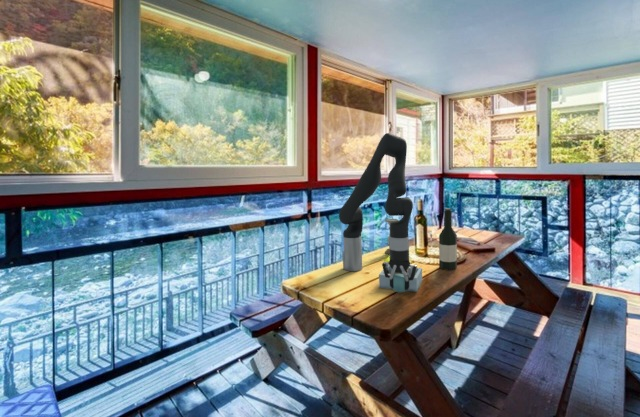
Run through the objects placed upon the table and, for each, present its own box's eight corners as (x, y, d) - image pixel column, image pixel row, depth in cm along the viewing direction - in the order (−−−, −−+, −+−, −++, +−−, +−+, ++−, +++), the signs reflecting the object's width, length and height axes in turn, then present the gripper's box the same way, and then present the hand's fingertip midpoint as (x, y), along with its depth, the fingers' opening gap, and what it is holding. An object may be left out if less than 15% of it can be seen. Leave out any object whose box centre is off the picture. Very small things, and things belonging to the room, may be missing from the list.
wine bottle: (458, 270, 165) (458, 209, 161) (440, 270, 167) (440, 210, 163) (455, 265, 173) (455, 207, 169) (438, 265, 175) (437, 207, 171)
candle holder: (388, 255, 197) (387, 221, 195) (382, 252, 206) (381, 219, 203) (402, 254, 199) (401, 220, 196) (396, 250, 207) (395, 218, 205)
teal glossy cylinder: (391, 291, 135) (391, 277, 135) (394, 287, 140) (394, 273, 139) (404, 293, 133) (404, 278, 132) (407, 288, 138) (407, 274, 137)
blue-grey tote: (379, 287, 148) (379, 274, 147) (387, 277, 160) (387, 265, 160) (416, 292, 141) (416, 278, 140) (422, 281, 153) (422, 268, 153)
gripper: (378, 248, 134) (379, 289, 136) (415, 251, 128) (416, 294, 130) (384, 244, 141) (384, 283, 143) (419, 246, 134) (419, 287, 137)
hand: (399, 288), depth 136 cm, fingers closed on teal glossy cylinder, 5 cm apart
